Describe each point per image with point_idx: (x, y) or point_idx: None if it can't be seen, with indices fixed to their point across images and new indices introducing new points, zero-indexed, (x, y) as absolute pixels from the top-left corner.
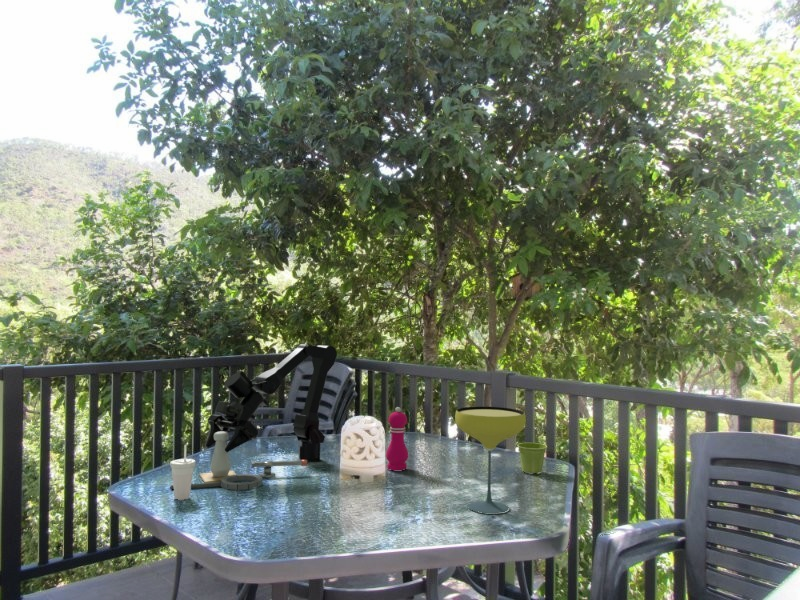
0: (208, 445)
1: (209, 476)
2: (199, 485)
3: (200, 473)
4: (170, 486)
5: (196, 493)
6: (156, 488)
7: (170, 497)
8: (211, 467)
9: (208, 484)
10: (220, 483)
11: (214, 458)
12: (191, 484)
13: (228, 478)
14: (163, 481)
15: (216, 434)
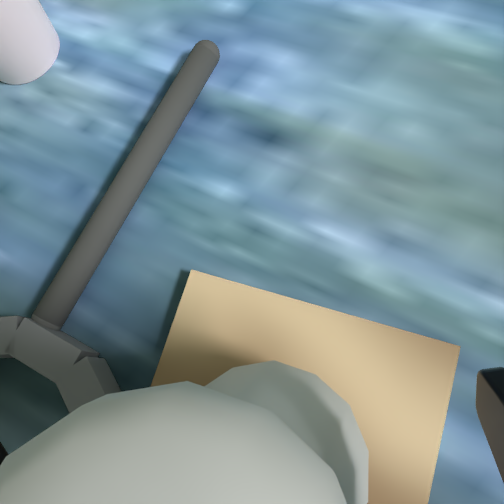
0: (490, 413)
1: (309, 366)
2: (110, 186)
3: (457, 356)
4: (207, 40)
5: (42, 140)
6: (297, 5)
7: (78, 13)
8: (271, 362)
9: (80, 236)
10: (35, 309)
11: (237, 382)
12: (138, 140)
13: (69, 409)
14: (440, 82)
15: (95, 415)
